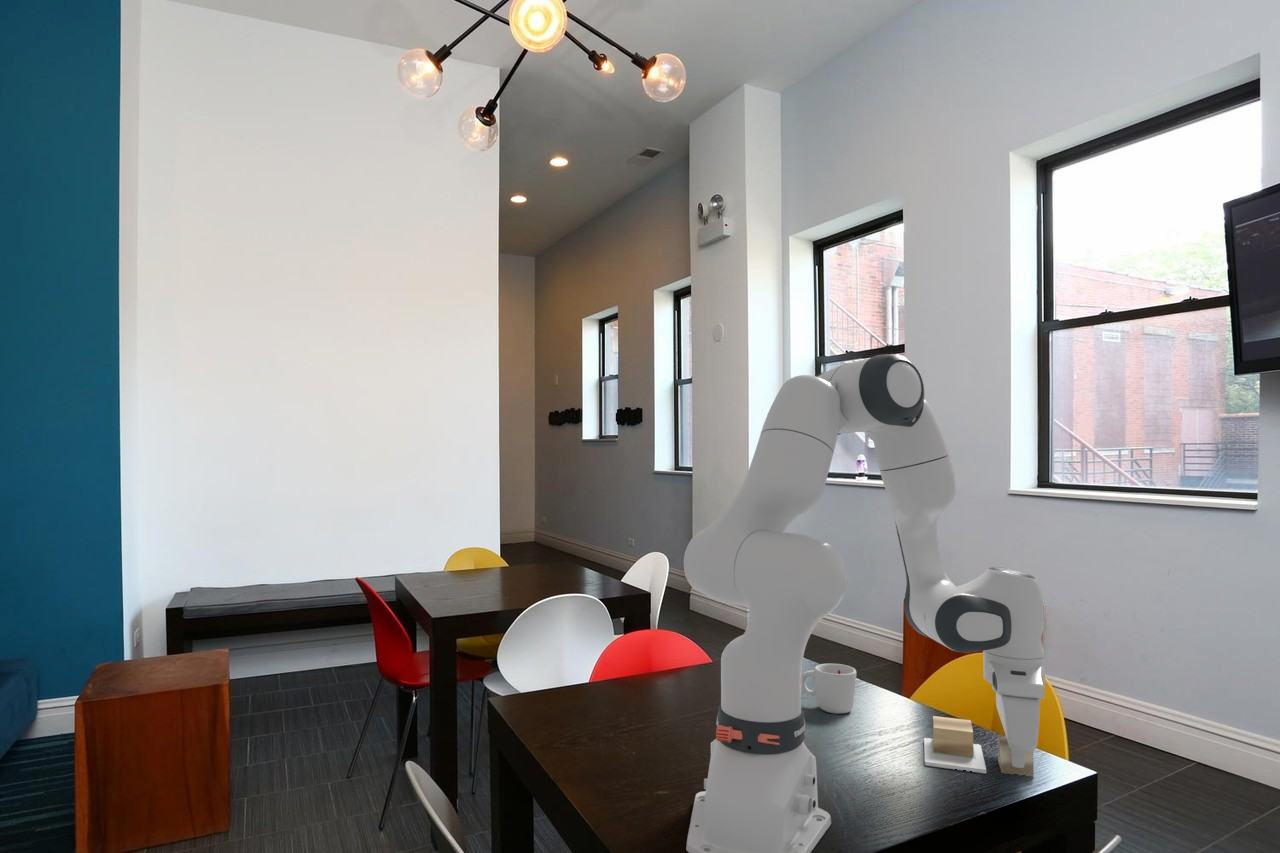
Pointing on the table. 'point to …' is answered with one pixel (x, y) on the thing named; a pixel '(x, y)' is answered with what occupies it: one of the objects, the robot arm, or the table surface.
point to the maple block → (1005, 760)
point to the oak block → (953, 736)
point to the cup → (832, 687)
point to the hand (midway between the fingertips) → (1015, 758)
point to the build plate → (954, 759)
